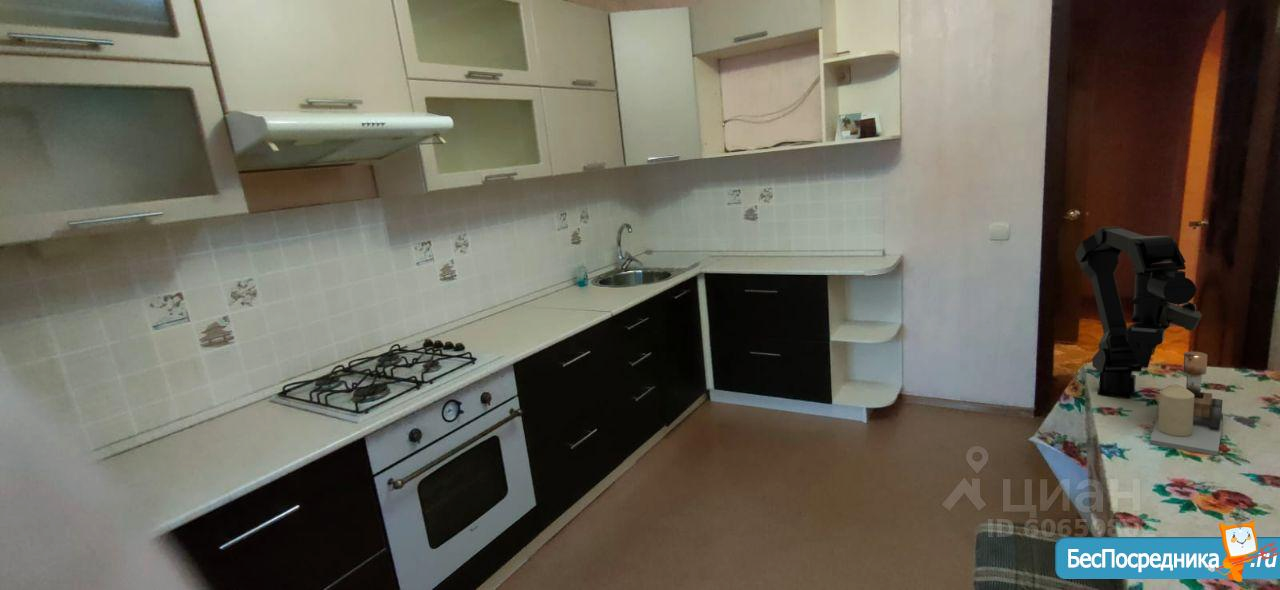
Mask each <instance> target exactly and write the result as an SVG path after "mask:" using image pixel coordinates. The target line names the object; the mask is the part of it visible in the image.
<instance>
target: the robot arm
mask: <svg viewBox="0 0 1280 590" xmlns="http://www.w3.org/2000/svg"><path fill="white" fill-rule="evenodd" d="M1123 252H1125V253H1126V254H1127V255H1128V256H1127V258H1128V259H1129V261H1131V262H1133V264H1134V265H1132V266H1131V270H1132V271H1134V272H1135V274H1134V292H1133V294H1134V296H1133V298H1132V305H1133V315H1132V317H1131V323H1132V324H1131V325H1129V326H1127V322H1126V317H1125V314H1124V309H1123V305H1122V301H1121V296H1120V294H1119V289H1118V285H1117V281H1116V277H1115V272H1116V269H1117V267H1118V266H1119V263H1120V258H1119V257H1121V255H1122V253H1123ZM1075 259H1076V261H1077V262H1078V265H1079V268H1080V270H1081V271H1082V272H1083V273H1084V275H1086V276H1087V277H1088V278H1089V279H1090V281H1091V284H1092V285H1091V286H1092V289H1093V294H1094V298H1095V301H1096V307H1097V311H1098V314H1099V318H1100V323H1101V324H1100V325H1101V327H1102V331H1103V334H1102V336H1101V338H1100V340H1099V343H1098V345H1097V346H1098V351H1097V352H1096V354H1094V356H1092V358H1091V362H1092V367H1093V368H1094V369H1095V370H1097V371H1099V381H1098V382H1099V387H1098V391H1097V395H1101V396H1108V397H1116V398H1124V399H1130V398H1131V397H1132V395H1134V394H1135V392H1136V386H1137V385H1136V381H1137V380H1136V379H1137V376H1136V375H1135V374H1134V372H1141V371H1142V368H1149V364H1150V363H1151V359H1152V356H1154V354H1155V353H1156V352H1155V351H1156V347H1157V346H1159V345H1162V344H1163V341H1164V339H1165V330H1166V329H1169V328H1170V326H1171V324H1173V325H1176V326H1178V327H1181V328H1184V330H1187V331H1190V332H1191V331H1193V332H1194V330H1195V329H1196V327H1197V326H1198V324H1199V322H1200V321H1201V320H1202V319H1201V318H1202V316H1203V314H1202V312H1201V311H1200V310H1197V305H1196V303H1193V302H1190V301H1192V299H1193V298H1194V297H1195V295H1196V292H1197V287H1196V284H1195V283H1194V282H1193V280H1191V279H1190V278H1188V277H1186V271H1183V270H1186V265H1185V263H1186V260H1185V258H1184V255H1183V254H1182V252H1181V250H1180V248H1179V246H1178V243H1177V242H1176V240H1175V239H1174V238H1173V237H1172V236H1170V235H1149V236H1147V235H1143V234H1140V233H1137V232H1134V231H1130V230H1128V229H1125V228H1124V227H1122V226H1118V225H1117V226H1109V227H1108V226H1106V227H1100V228H1097V229H1096V230H1095V232H1094V233H1093V234H1092V235H1091V236H1088V237H1087V238H1085V239H1084V240H1081V243H1080V244H1079V245H1078V247H1077V249H1076V251H1075Z"/></svg>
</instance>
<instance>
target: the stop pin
mask: <svg viewBox="0 0 1280 590" xmlns="http://www.w3.org/2000/svg"><path fill="white" fill-rule="evenodd" d="M1207 366H1208V354H1207V353H1205V352H1201V351H1185V352H1184V353H1183V363H1182V372H1183V373H1184V374H1186V384H1185V388H1186V389H1187V390H1189V391H1191V392H1192V393H1193V394H1194V395H1195V396H1197V395H1200V394H1201V392H1202V379H1203V378H1202V375H1203V376H1204V375H1206V374H1207V369H1208V368H1207Z"/></svg>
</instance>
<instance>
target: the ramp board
mask: <svg viewBox="0 0 1280 590" xmlns="http://www.w3.org/2000/svg"><path fill="white" fill-rule="evenodd" d="M1158 419H1159V414H1158V416H1157V419H1156V421H1155V424H1154V427H1153V429H1152V433H1151V436H1150V439H1149V445H1152V446H1157V447H1165V448H1170V449H1175V450H1176V449H1177V450H1181V451H1188V452H1193V453H1196V454H1197V453H1199V454H1205V455H1211V456H1216V457H1219V452H1220V451H1219V450H1220V444H1221V438H1222V431H1223V425H1224V424H1223V423H1224V413H1223V412H1222V414H1221V420H1220V429H1217V428H1210V427H1209V419H1208V418H1201V417H1194V416H1193V427H1192V434H1191V435H1189V436H1172V435H1168V434H1165V433H1162V432H1161V431H1159V429H1158Z"/></svg>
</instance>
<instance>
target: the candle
mask: <svg viewBox="0 0 1280 590" xmlns="http://www.w3.org/2000/svg"><path fill="white" fill-rule="evenodd" d="M1158 404H1159V405H1158V415H1159V419H1158V429H1159V431H1161V432H1162V433H1165V434H1168V435H1172V436H1189V435H1191V434H1192V427H1193V412H1194V394H1193V393H1192V392H1191V391H1189V390H1187V389H1186V387H1184V386H1181V385H1179V384H1169V385H1168V386H1166V387H1164V388H1162V389H1160V390H1159V402H1158Z"/></svg>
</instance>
